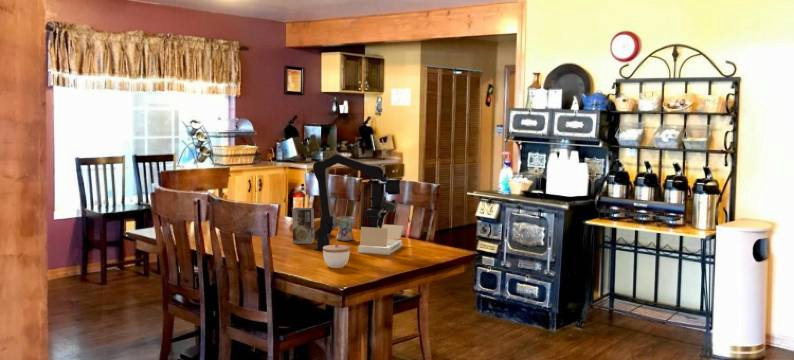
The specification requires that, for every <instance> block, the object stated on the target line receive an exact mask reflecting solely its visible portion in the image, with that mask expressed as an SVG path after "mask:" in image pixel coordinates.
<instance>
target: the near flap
mask: <svg viewBox="0 0 794 360" xmlns="http://www.w3.org/2000/svg"><path fill="white" fill-rule="evenodd" d="M387 233H388V228H378V227H377V228H372V226H371V227H370V226H360V241H359V245H363V246H378V247H387Z"/></svg>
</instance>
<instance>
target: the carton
mask: <svg viewBox="0 0 794 360" xmlns="http://www.w3.org/2000/svg"><path fill="white" fill-rule="evenodd" d="M402 246H403V241H402V239H387V247H378V246H363V245H360V244H359V245H358V246H357V253H359V254H367V255H368V254H369V255H383V256H384V255H386V256H390V255H391V254H392V253H394V252H396V251H398V250H400V249H401V248H402Z"/></svg>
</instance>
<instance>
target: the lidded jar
mask: <svg viewBox="0 0 794 360" xmlns="http://www.w3.org/2000/svg"><path fill="white" fill-rule="evenodd" d="M350 250H351V247H350V246H349V245H345V244H339V243H338V242H335V243H334V244H330V245H327V246H324V247H323V250H322V254H323V256H322V257H323V259H324V260H323V261H324V263H325V264H326V265H328V267H329V268H332V269H340V268H341V269H342V268H344V267H345V265H346V264H347V263H348V262H349V259H350V254H351V251H350Z"/></svg>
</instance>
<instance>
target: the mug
mask: <svg viewBox="0 0 794 360" xmlns="http://www.w3.org/2000/svg"><path fill="white" fill-rule="evenodd" d="M355 219H356V217H354V216H336V222H337V224H336V226H337V234H336V235H337V236H336V240H339V241H341V242H342V241H343V242H347V241H352V240H354V239H355V237H354V235H353V225H354V222H355Z"/></svg>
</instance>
